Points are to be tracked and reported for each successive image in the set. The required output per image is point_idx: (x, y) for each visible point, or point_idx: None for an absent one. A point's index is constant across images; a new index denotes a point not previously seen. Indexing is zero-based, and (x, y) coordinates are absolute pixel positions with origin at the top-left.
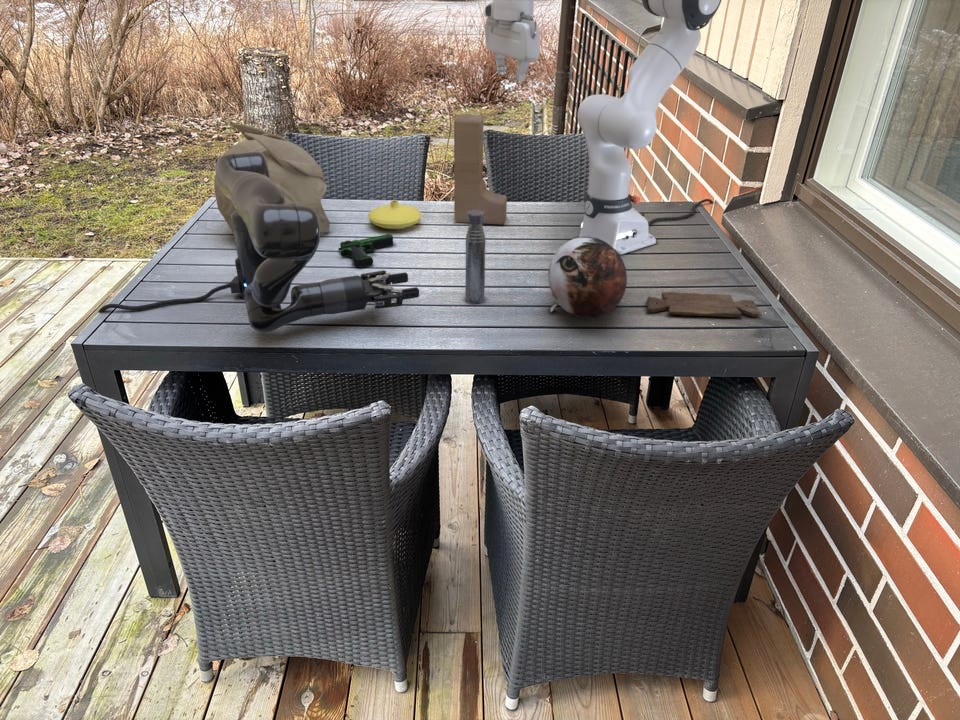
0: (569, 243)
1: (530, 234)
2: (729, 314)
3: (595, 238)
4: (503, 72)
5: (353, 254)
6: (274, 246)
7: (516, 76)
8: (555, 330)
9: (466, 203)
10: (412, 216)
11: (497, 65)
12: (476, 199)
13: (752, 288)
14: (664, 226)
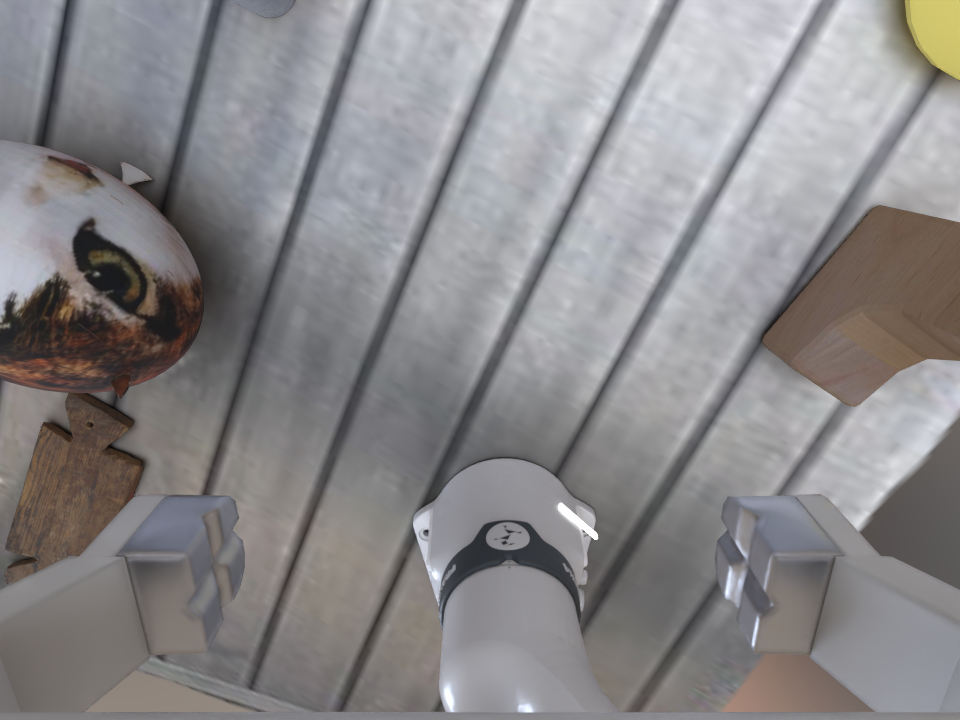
0: (2, 241)
1: (653, 380)
2: (11, 528)
3: (3, 336)
4: (728, 555)
5: None
6: None
7: (176, 519)
8: (28, 122)
9: (885, 251)
10: (940, 17)
11: (866, 561)
12: (868, 287)
13: None
14: None
